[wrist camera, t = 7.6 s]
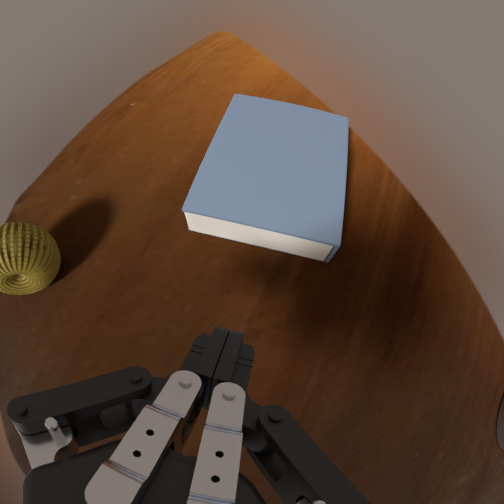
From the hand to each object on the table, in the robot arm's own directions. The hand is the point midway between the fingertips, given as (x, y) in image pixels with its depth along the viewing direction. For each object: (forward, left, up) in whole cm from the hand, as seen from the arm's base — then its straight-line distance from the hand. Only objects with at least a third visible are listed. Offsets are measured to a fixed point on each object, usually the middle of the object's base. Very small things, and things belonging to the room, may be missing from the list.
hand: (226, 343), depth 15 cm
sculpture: (+16, -10, -7) cm, 20 cm away
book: (-4, -8, -5) cm, 10 cm away
